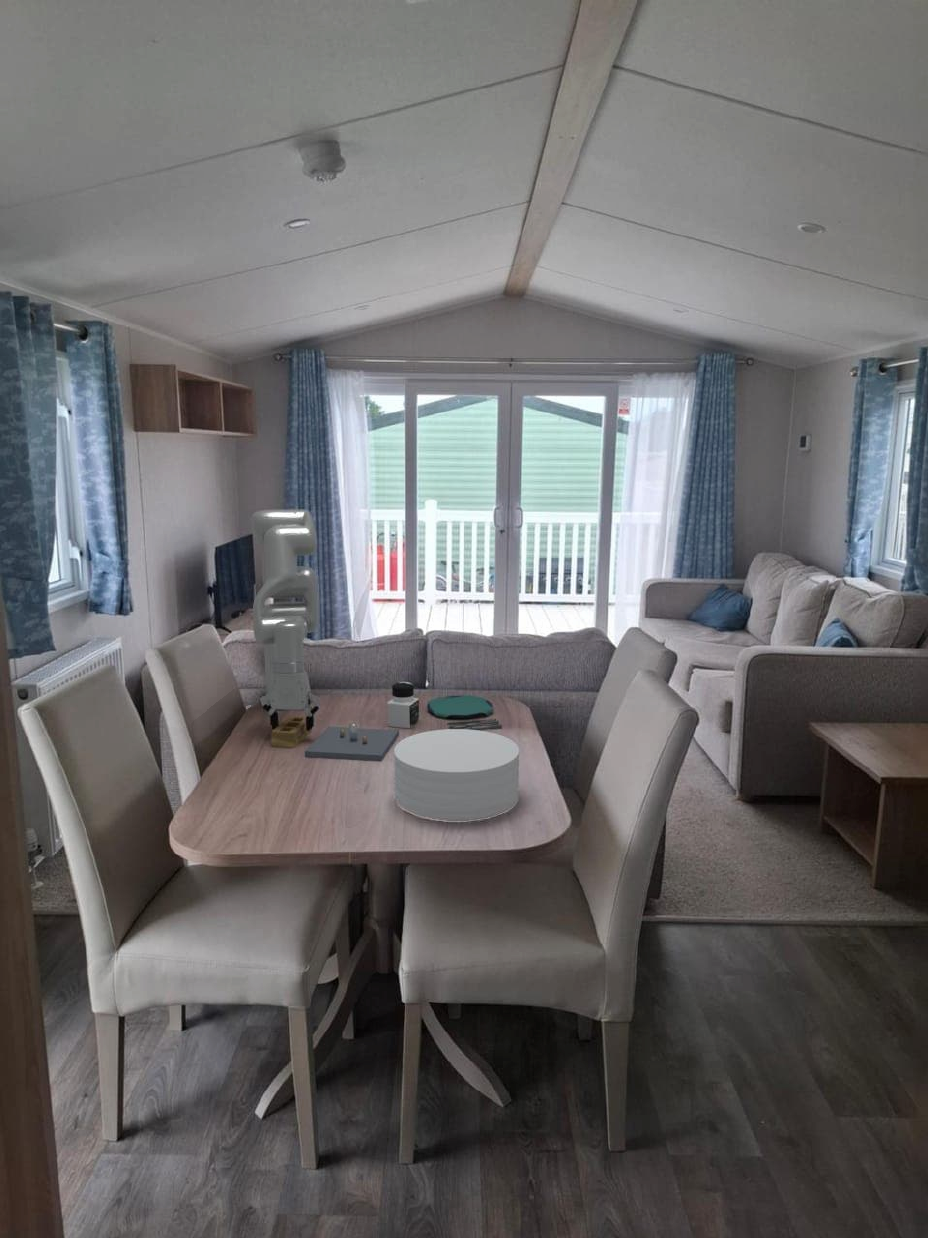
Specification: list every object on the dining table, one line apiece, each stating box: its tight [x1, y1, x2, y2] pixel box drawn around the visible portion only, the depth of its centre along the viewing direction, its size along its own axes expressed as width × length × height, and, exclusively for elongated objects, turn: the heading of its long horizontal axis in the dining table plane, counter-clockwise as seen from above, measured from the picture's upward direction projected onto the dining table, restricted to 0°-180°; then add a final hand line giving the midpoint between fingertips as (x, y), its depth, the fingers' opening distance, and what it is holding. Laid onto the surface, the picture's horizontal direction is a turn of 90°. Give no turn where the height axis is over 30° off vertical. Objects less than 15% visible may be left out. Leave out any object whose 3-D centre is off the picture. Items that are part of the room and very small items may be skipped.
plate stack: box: [393, 728, 520, 821], centre depth 190 cm, size 28×28×12 cm
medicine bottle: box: [386, 681, 420, 729], centre depth 241 cm, size 7×7×12 cm
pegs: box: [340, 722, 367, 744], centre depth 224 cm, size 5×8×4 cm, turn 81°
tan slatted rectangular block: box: [270, 715, 313, 749], centre depth 229 cm, size 14×6×4 cm, turn 172°
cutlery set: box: [426, 694, 503, 731], centre depth 251 cm, size 20×30×2 cm, turn 12°
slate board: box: [304, 726, 400, 762], centre depth 224 cm, size 20×20×2 cm
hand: (292, 728), depth 229 cm, fingers open, 9 cm apart
